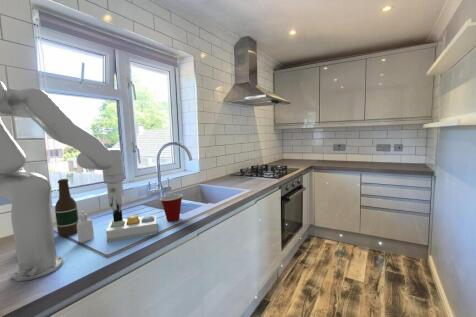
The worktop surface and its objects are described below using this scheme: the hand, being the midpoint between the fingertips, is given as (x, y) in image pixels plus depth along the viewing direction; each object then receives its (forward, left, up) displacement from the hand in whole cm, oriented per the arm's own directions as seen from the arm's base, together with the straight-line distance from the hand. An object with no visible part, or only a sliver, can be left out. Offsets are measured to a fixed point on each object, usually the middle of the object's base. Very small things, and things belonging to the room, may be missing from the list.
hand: (118, 220), depth 102 cm
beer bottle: (+11, +21, -6) cm, 25 cm away
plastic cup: (+8, -23, -6) cm, 25 cm away
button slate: (0, -12, -4) cm, 12 cm away
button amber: (0, -6, -3) cm, 6 cm away
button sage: (0, 0, -4) cm, 4 cm away
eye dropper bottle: (0, +12, -6) cm, 14 cm away
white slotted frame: (0, -6, -6) cm, 8 cm away
